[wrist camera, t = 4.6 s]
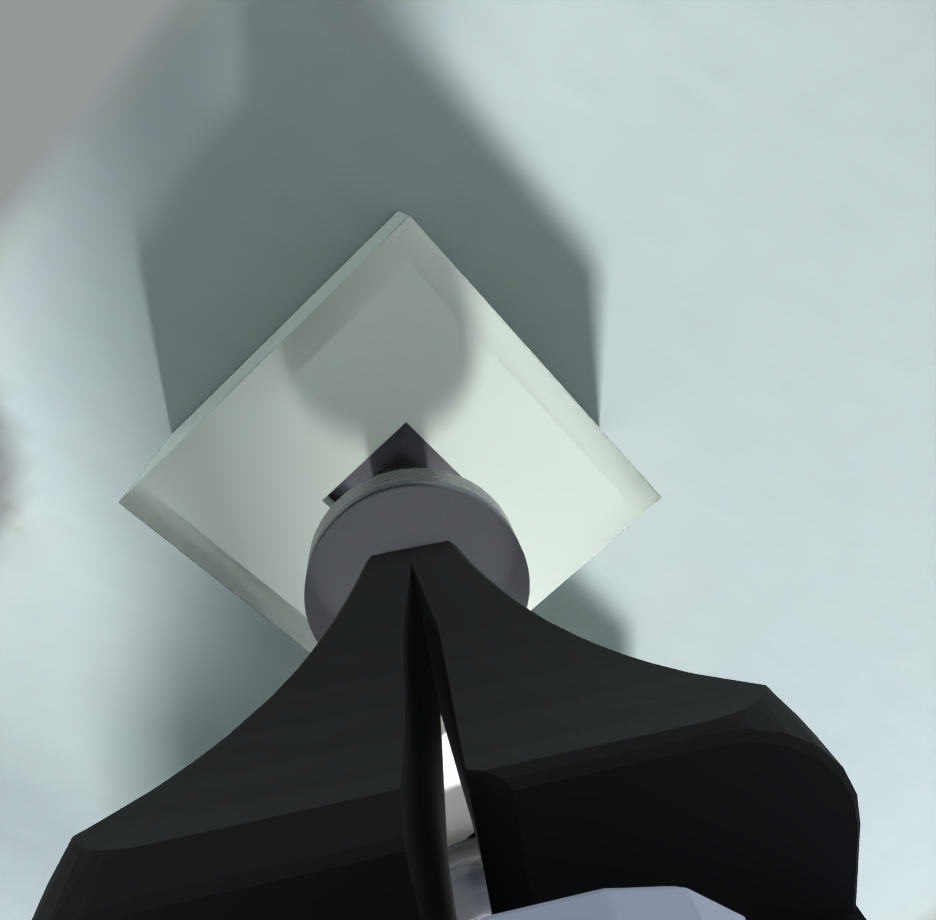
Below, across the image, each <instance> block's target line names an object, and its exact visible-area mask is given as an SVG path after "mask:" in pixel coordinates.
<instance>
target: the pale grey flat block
mask: <svg viewBox="0 0 936 920" xmlns="http://www.w3.org/2000/svg"><path fill="white" fill-rule="evenodd" d="M406 422H407V423H408V424H409V425H410V426H411V427H412V428H413V429H414V430H415V431H416V432H417V433H418V434H419V435H420V436H421V437H422V438H423V439H424V440H425V441H426V442H427V443H428V444H429V445H430V446H431V447H432V448H433V449H434V450H435V451H436V452H437V453H438V454H439V455H440V456H441V457H442V458H443V459H444V460H445V461H446V462H447V463H448V464H449V465H450V466H451V467H452V468H453V469H454V470H455V471H456V472H457V473H458V474H459V475H460V476H461V477H463V478H465V479H467V480H469V481H471V482H473V483H474V484H476V485H477V486H479V487H480V488H482V489H483V490H484V491H486V492H487V493H488V494H489V495H490V496H491V497H492V498H493V499H494V500H495V501H496V502H497V503H498V504H499V506H500V507H501V508H502V510H503V511H504V513H505V514H506V516H507V518H508V520H509V522H510V524H511V526H512V529H513V531H514V533H515V535H516V537H517V539H518V541H519V544H520V546H521V548H522V550H523V552H524V554H525V558H526V561H527V565H528V570H529V577H530V594H529V600H528V606H527V608H528V609H529V610H530V611H531V610H532V609H533V608H534V607H535V606H537V605H538V604H539V603H540V602H541V601H542V600H543V599H545V598H546V597H547V596H548V595H549V594H550V593H552V592H553V591H554V590H555V589H556V588H557V587H559V586H560V585H561V584H562V583H563V582H564V581H565V580H567V579H568V578H569V577H570V576H571V575H572V574H574V573H575V572H576V571H577V570H578V569H579V568H580V567H582V566H583V565H584V564H585V563H586V562H587V561H589V560H590V559H591V558H592V557H593V556H594V555H596V554H597V553H598V552H599V551H600V550H601V549H602V548H604V547H605V546H606V545H607V544H608V543H609V542H611V541H612V540H613V539H614V538H615V537H616V536H617V535H619V534H620V533H621V532H622V531H623V530H624V529H626V528H627V527H628V526H629V525H630V524H631V523H633V522H634V521H635V520H636V519H637V518H638V517H639V516H641V515H642V514H643V513H644V512H645V511H646V510H648V509H649V508H650V507H651V506H652V505H653V504H654V503H656V502H657V501H658V500H659V499H660V498H661V496H660V495H659V494H658V493H657V492H656V490H655V489H654V488H653V487H652V486H651V485H650V484H649V483H648V481H647V480H646V479H645V478H644V477H643V476H642V475H641V474H640V473H639V471H638V470H637V469H636V468H635V467H634V466H633V465H632V464H631V462H630V461H629V460H628V459H627V458H626V457H625V456H624V455H623V453H622V452H621V451H620V450H619V449H618V448H617V447H616V446H615V445H614V443H613V442H612V441H611V440H610V439H609V438H608V437H607V436H606V434H605V433H604V432H603V431H602V430H601V429H600V428H599V427H598V426H597V424H596V423H595V422H594V421H593V420H592V419H591V418H590V417H589V415H588V414H587V413H586V412H585V411H584V410H583V409H582V408H581V407H580V405H579V404H578V403H577V402H576V401H575V400H574V399H573V398H572V396H571V395H570V394H569V393H568V392H567V391H566V390H565V389H564V387H563V386H562V385H561V384H560V383H559V382H558V381H557V380H556V379H555V377H554V376H553V375H552V374H551V373H550V372H549V371H548V370H547V368H546V367H545V366H544V365H543V364H542V363H541V362H540V361H539V360H538V358H537V357H536V356H535V355H534V354H533V353H532V352H531V351H530V349H529V348H528V347H527V346H526V345H525V344H524V343H523V342H522V340H521V339H520V338H519V337H518V336H517V335H516V334H515V333H514V332H513V330H512V329H511V328H510V327H509V326H508V325H507V324H506V323H505V321H504V320H503V319H502V318H501V317H500V316H499V315H498V314H497V313H496V311H495V310H494V309H493V308H492V307H491V306H490V305H489V304H488V302H487V301H486V300H485V299H484V298H483V297H482V296H481V295H480V293H479V292H478V291H477V290H476V289H475V288H474V287H473V286H472V285H471V283H470V282H469V281H468V280H467V279H466V278H465V277H464V276H463V274H462V273H461V272H460V271H459V270H458V269H457V268H456V267H455V266H454V264H453V263H452V262H451V261H450V260H449V259H448V258H447V257H446V255H445V254H444V253H443V252H442V251H441V250H440V249H439V248H438V247H437V245H436V244H435V243H434V242H433V241H432V240H431V239H430V238H429V236H428V235H427V234H426V233H425V232H424V231H423V230H422V229H421V227H420V226H419V225H418V224H417V223H416V222H415V221H414V220H413V219H412V217H411V216H409V215H407V214H404V213H402V212H399V211H397V212H396V213H395V214H394V215H393V216H392V217H391V218H390V219H389V220H388V221H387V222H386V223H385V224H384V225H383V226H382V227H381V228H380V229H379V230H378V231H377V232H376V233H375V234H374V235H373V236H372V237H371V238H370V239H369V240H368V241H367V242H366V243H365V244H364V245H363V246H362V247H361V248H360V249H359V250H358V251H357V252H356V253H355V254H354V255H353V256H352V257H351V258H350V259H349V260H348V261H347V262H346V263H344V264H343V265H342V266H341V267H340V268H339V269H338V270H337V271H336V272H335V273H334V274H333V275H332V276H331V277H330V278H329V279H328V280H327V281H326V282H325V283H324V284H323V285H322V286H321V287H320V288H319V289H318V290H317V291H316V292H315V293H314V294H313V295H312V296H311V297H310V298H309V299H308V300H307V301H306V302H305V303H304V304H303V305H302V306H301V307H300V308H299V309H298V310H297V311H296V312H295V313H294V314H293V315H292V316H291V317H290V318H289V319H288V320H287V321H286V322H285V323H284V324H283V325H282V326H281V327H280V328H279V329H278V330H277V331H276V332H275V333H274V334H273V335H272V336H271V337H270V338H269V339H268V340H267V341H266V342H265V343H264V344H263V345H261V346H260V347H259V348H258V349H257V350H256V351H255V352H254V353H253V354H252V355H251V356H250V357H249V358H248V359H247V360H246V361H245V362H244V363H243V364H242V365H241V366H240V367H239V368H238V369H237V370H236V371H235V372H234V373H233V374H232V375H231V376H230V377H229V378H228V379H227V380H226V381H225V382H224V383H223V384H222V385H221V386H220V387H219V388H218V389H217V390H216V391H215V392H214V393H213V394H212V395H211V396H210V397H209V398H208V399H207V400H206V401H205V402H204V403H203V404H202V405H201V406H200V407H199V408H198V409H197V410H196V411H195V412H194V413H193V414H192V415H191V416H190V417H189V418H188V419H187V420H186V421H185V422H184V423H183V424H182V425H181V426H180V427H178V428H177V429H176V430H175V431H174V432H173V433H172V434H171V436H170V437H169V438H168V440H167V441H166V442H165V443H164V445H163V446H162V447H161V449H160V450H159V451H158V452H157V454H156V455H155V456H154V458H153V459H152V460H151V462H150V463H149V464H148V465H147V467H146V468H145V469H144V471H143V472H142V473H141V474H140V476H139V477H138V478H137V480H136V481H135V482H134V484H133V485H132V486H131V487H130V489H129V490H128V491H127V493H126V494H125V495H124V496H123V498H122V499H121V500H120V502H119V503H120V504H121V505H122V506H124V507H125V508H126V509H127V510H129V511H130V512H131V513H133V514H134V515H135V516H136V517H138V518H139V519H140V520H141V521H143V522H144V523H145V524H147V525H148V526H149V527H150V528H152V529H153V530H154V531H155V532H157V533H158V534H159V535H161V536H162V537H163V538H164V539H166V540H167V541H168V542H169V543H171V544H172V545H173V546H175V547H176V548H177V549H178V550H180V551H181V552H182V553H183V554H185V555H186V556H187V557H189V558H190V559H191V560H192V561H194V562H195V563H196V564H197V565H199V566H200V567H201V568H203V569H204V570H205V571H206V572H208V573H209V574H210V575H211V576H213V577H214V578H215V579H217V580H218V581H219V582H220V583H222V584H223V585H224V586H225V587H227V588H228V589H229V590H231V591H232V592H233V593H234V594H236V595H237V596H238V597H239V598H241V599H242V600H243V601H245V602H246V603H247V604H248V605H250V606H251V607H252V608H253V609H255V610H256V611H257V612H259V613H260V614H261V615H262V616H264V617H265V618H266V619H267V620H269V621H270V622H271V623H273V624H274V625H275V626H276V627H278V628H279V629H280V630H281V631H283V632H284V633H285V634H287V635H288V636H289V637H290V638H292V639H293V640H294V641H295V642H297V643H298V644H299V645H301V646H302V647H303V648H304V649H306V650H307V651H308V652H310V653H311V652H312V650H313V649H314V647H315V646H316V645H317V643H318V642H317V641H316V639H315V638H314V636H313V633H312V631H311V629H310V626H309V624H308V620H307V616H306V612H305V603H304V589H305V579H306V572H307V564H308V557H309V552H310V546H311V542H312V540H313V537H314V534H315V531H316V529H317V527H318V525H319V524H320V522H321V520H322V518H323V517H324V516H325V514H326V513H327V511H328V510H329V509H330V507H331V506H332V505H333V504H334V503H335V502H334V501H333V500H332V499H331V498H330V497H328V496H327V495H329V494H330V493H331V492H332V491H333V490H334V489H335V488H336V487H337V486H338V485H339V484H340V483H341V482H342V481H344V480H345V479H346V478H347V477H348V476H349V475H350V474H351V473H352V472H353V471H354V470H355V469H356V468H357V467H358V466H360V465H361V464H362V463H363V462H364V461H365V460H366V459H367V458H368V457H369V456H370V455H371V454H372V453H373V452H375V451H376V450H377V449H378V448H379V447H380V446H381V445H382V444H383V443H384V442H385V441H386V440H387V439H388V438H389V437H391V436H392V435H393V434H394V433H395V432H396V431H397V430H398V429H399V428H400V427H401V426H402V425H403V424H404V423H406Z"/></svg>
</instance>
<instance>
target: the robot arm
mask: <svg viewBox="0 0 936 920" xmlns="http://www.w3.org/2000/svg"><path fill="white" fill-rule="evenodd" d="M441 716H442V720H443V724H444V727H445V731H446V734H447V738H448V741H449V745H450V748H451V752H452V755H453V759H454V762H455V766H456V769H457V773H458V776H459V779H460V783H461V786H462V790H463V793H464V797H465V800H466V804H467V807H468V811H469V814H470V818H471V821H472V825H473V828H474V832H475V835H476V839H477V844H478V848H479V852H480V856H481V860H482V864H483V870H484V875H485V880H486V886H487V891H488V897H489V902H490V907H491V913H492V915H489V916H485V917H481V918H476V919H472V920H866V918H865V917H864V916H863V914H862V913H861V911H860V910H859V909H858V907H857V906H856V893H857V874H858V856H859V837H860V817H859V808H858V800H857V793H856V792H855V790H854V788H853V786H852V784H851V782H850V780H849V778H848V776H847V774H846V772H845V770H844V768H843V767H842V766H841V765H840V763H839V762H838V761H837V760H836V759H835V758H834V756H833V755H832V754H831V753H830V752H829V750H828V749H827V748H826V747H825V746H824V745H823V743H822V742H821V741H820V740H819V739H818V737H817V736H816V735H815V734H814V733H813V732H812V731H811V730H810V729H809V728H808V726H807V725H806V724H805V723H804V722H803V721H802V720H801V719H800V718H799V717H798V716H797V715H796V714H795V713H794V712H793V711H792V710H791V709H790V708H789V707H788V706H787V705H785V704H784V703H783V702H782V701H781V700H780V699H779V698H778V697H777V696H776V695H775V694H774V693H773V692H772V691H771V690H770V689H769V688H768V687H767V686H766V685H761V684H754V683H748V682H742V681H736V680H730V679H723V678H717V677H711V676H705V675H698V674H693V673H689V672H684V671H680V670H676V669H672V668H668V667H665V666H661V665H657V664H653V663H649V662H646V661H643V660H639V659H636V658H633V657H630V656H626V655H623V654H621V653H618V652H615V651H613V650H610V649H608V648H605V647H602V646H600V645H597V644H594V643H592V642H589V641H587V640H585V639H583V638H580V637H578V636H576V635H574V634H572V633H570V632H568V631H566V630H564V629H562V628H560V627H558V626H556V625H554V624H552V623H550V622H548V621H547V620H545V619H543V618H541V617H540V616H538V615H536V614H535V613H533V612H532V611H530V610H529V609H528V608H526V607H525V606H523V605H522V604H520V603H519V602H517V601H516V600H515V599H513V598H512V597H511V596H509V595H508V594H507V593H506V592H504V591H503V590H502V589H501V588H500V587H498V586H497V585H496V584H495V583H493V582H492V581H491V580H490V579H489V578H487V577H486V576H485V575H484V574H483V573H482V572H481V571H480V570H479V569H478V568H477V567H476V566H474V565H473V564H472V563H471V562H470V561H469V560H468V559H467V558H466V556H465V555H464V554H463V553H462V552H461V551H460V550H459V548H458V547H457V546H456V545H454V544H453V543H452V542H450V541H444V542H439V543H433V544H428V545H423V546H418V547H413V548H408V549H403V550H397V551H392V552H387V553H382V554H377V555H372V556H371V557H370V558H369V559H368V561H367V562H366V563H365V565H364V568H363V570H362V572H361V574H360V576H359V578H358V579H357V581H356V583H355V585H354V587H353V589H352V590H351V592H350V594H349V596H348V598H347V599H346V601H345V603H344V604H343V606H342V607H341V609H340V611H339V612H338V614H337V616H336V617H335V619H334V620H333V622H332V624H331V625H330V627H329V628H328V629H327V631H326V632H325V634H324V635H323V636H322V638H321V639H320V641H319V642H318V643H317V645H316V646H315V647H314V649H313V650H312V652H311V653H310V654H309V656H308V657H307V658H306V660H305V661H304V662H303V663H302V664H301V666H300V667H299V668H298V669H297V670H296V671H295V672H294V674H293V675H292V676H291V677H290V678H289V679H288V680H287V681H286V682H285V683H284V684H283V685H282V686H281V687H280V688H279V690H278V691H277V692H276V693H275V694H274V695H273V696H272V697H271V698H270V699H269V700H267V701H266V702H265V703H264V704H263V705H262V706H261V707H260V708H258V709H257V710H256V711H255V712H254V713H253V714H252V715H251V716H249V717H248V718H247V719H246V720H245V721H244V722H243V723H241V724H240V725H239V726H238V727H237V728H236V729H235V730H234V731H232V732H231V733H230V734H229V735H228V736H227V737H225V738H224V739H223V740H222V741H220V742H219V743H218V744H217V745H215V746H214V747H213V748H211V749H210V750H209V751H207V752H206V753H205V754H203V755H202V756H201V757H199V758H198V759H197V760H195V761H194V762H193V763H191V764H190V765H188V766H187V767H185V768H184V769H183V770H181V771H180V772H178V773H177V774H175V775H174V776H173V777H171V778H170V779H168V780H167V781H165V782H164V783H162V784H161V785H159V786H158V787H156V788H155V789H153V790H152V791H150V792H148V793H147V794H145V795H143V796H142V797H140V798H138V799H137V800H135V801H133V802H132V803H130V804H128V805H126V806H125V807H123V808H121V809H120V810H118V811H116V812H115V813H113V814H111V815H110V816H108V817H106V818H105V819H103V820H101V821H100V822H98V823H96V824H95V825H93V826H91V827H89V828H88V829H86V830H84V831H82V832H80V833H78V834H77V835H75V836H73V837H72V839H71V841H70V843H69V845H68V847H67V849H66V851H65V852H64V854H63V856H62V858H61V860H60V862H59V864H58V866H57V867H56V869H55V871H54V873H53V875H52V877H51V879H50V881H49V882H48V885H47V887H46V889H45V891H44V894H43V896H42V898H41V900H40V903H39V905H38V907H37V909H36V912H35V914H34V916H33V918H32V920H457V916H456V910H455V903H454V896H453V889H452V882H451V876H450V867H449V856H448V846H447V830H446V810H445V790H444V770H443V750H442V731H441Z"/></svg>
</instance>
